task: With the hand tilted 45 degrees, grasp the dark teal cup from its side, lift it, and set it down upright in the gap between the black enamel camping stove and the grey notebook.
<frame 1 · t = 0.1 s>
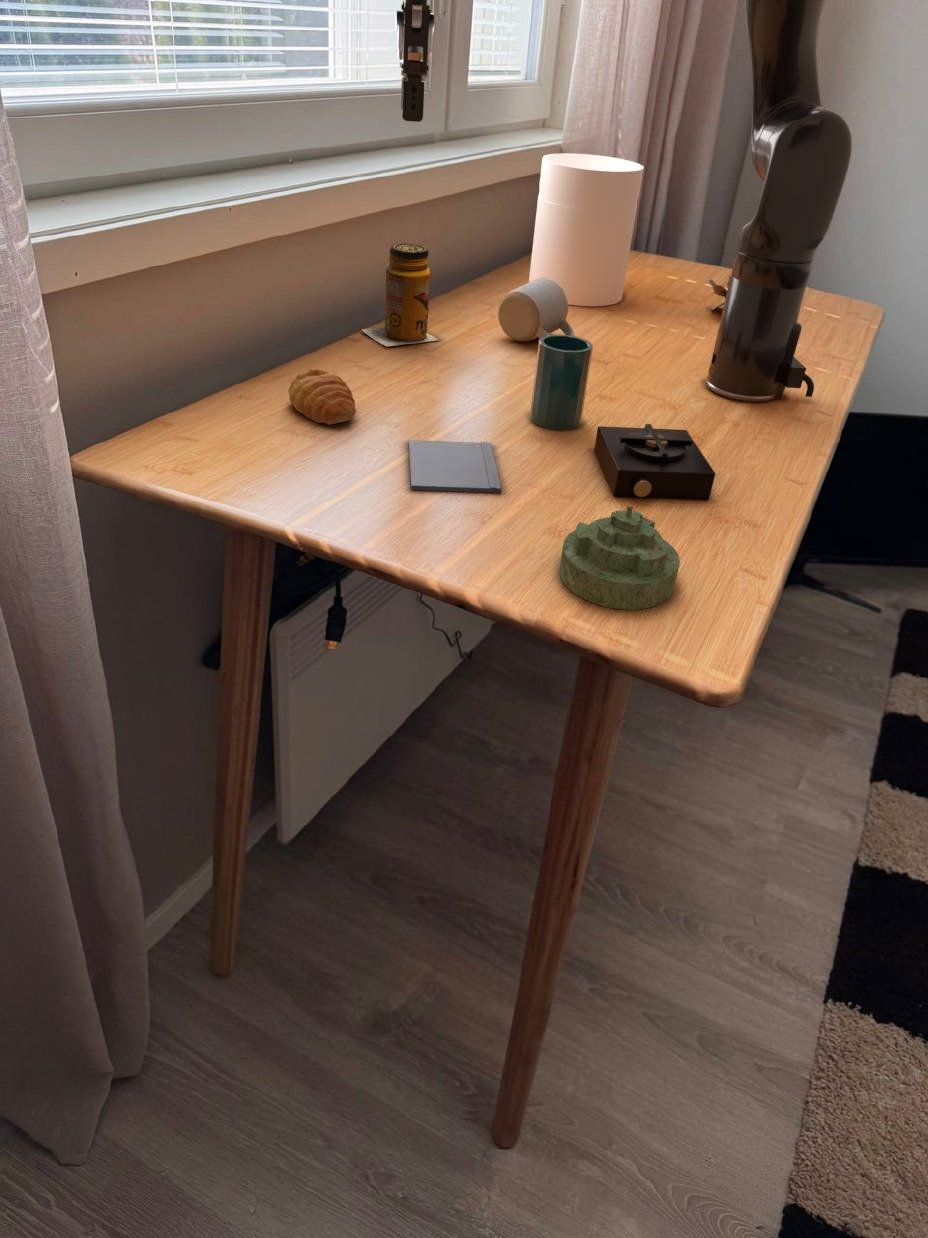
hand: (411, 115, 102), 29 cm above the table, tool pointing down, fingers open, 8 cm apart
artificial flower: (733, 328, 147), on the table
ceramic mug: (537, 340, 134), on the table
canister: (574, 293, 157), on the table
condiment: (399, 337, 131), on the table
stove: (649, 474, 99), on the table
grey notebook: (452, 467, 97), on the table
decorative artifact: (615, 579, 81), on the table
dark teal cup: (555, 419, 109), on the table
pastry: (325, 411, 107), on the table
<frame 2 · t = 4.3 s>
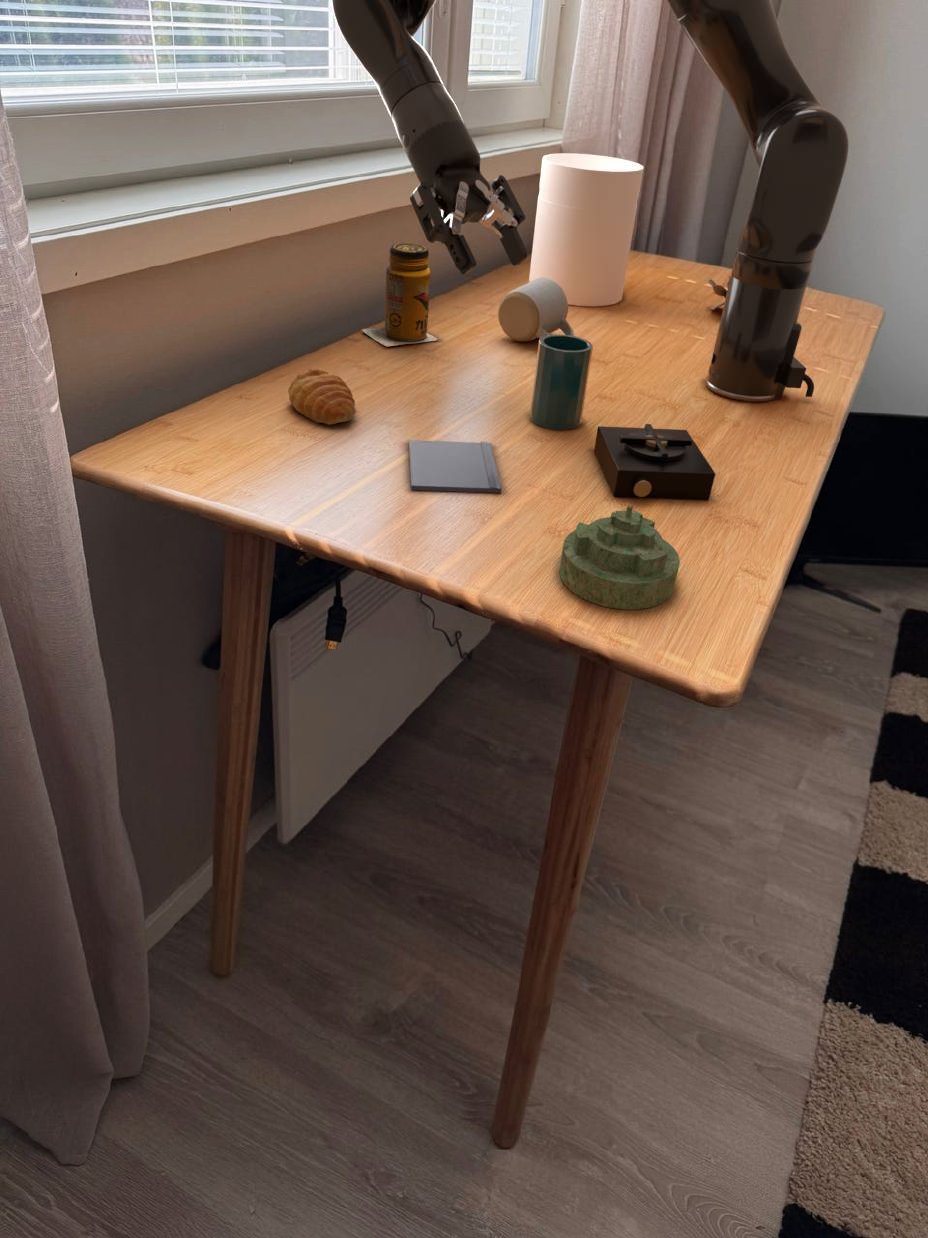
hand: (496, 265, 107), 15 cm above the table, tool tilted 45°, fingers open, 8 cm apart
nothing on the table moved.
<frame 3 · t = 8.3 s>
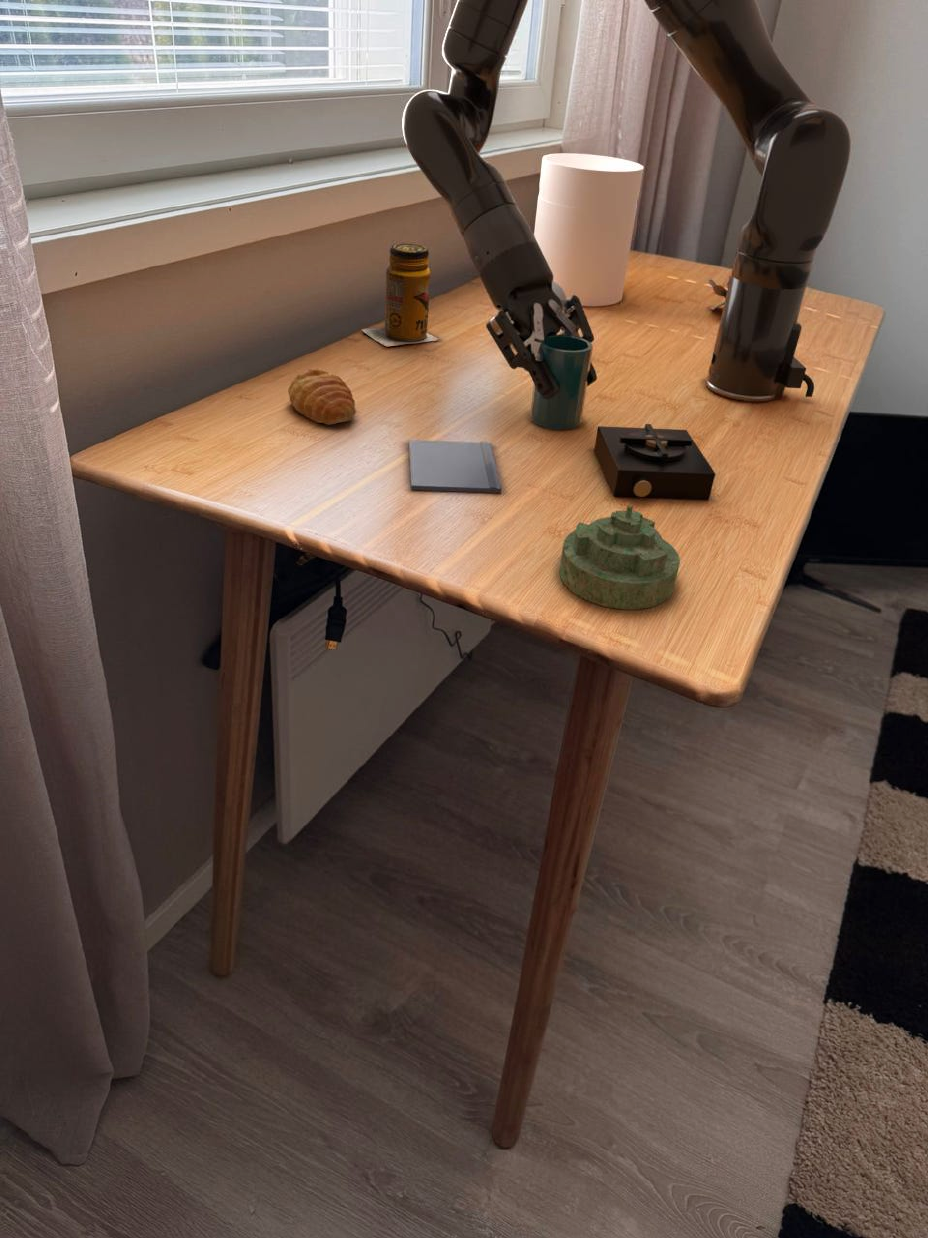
hand: (571, 389, 106), 4 cm above the table, tool tilted 45°, fingers closed on dark teal cup, 6 cm apart
dark teal cup: (555, 419, 109), on the table, touching gripper
everything else where it was.
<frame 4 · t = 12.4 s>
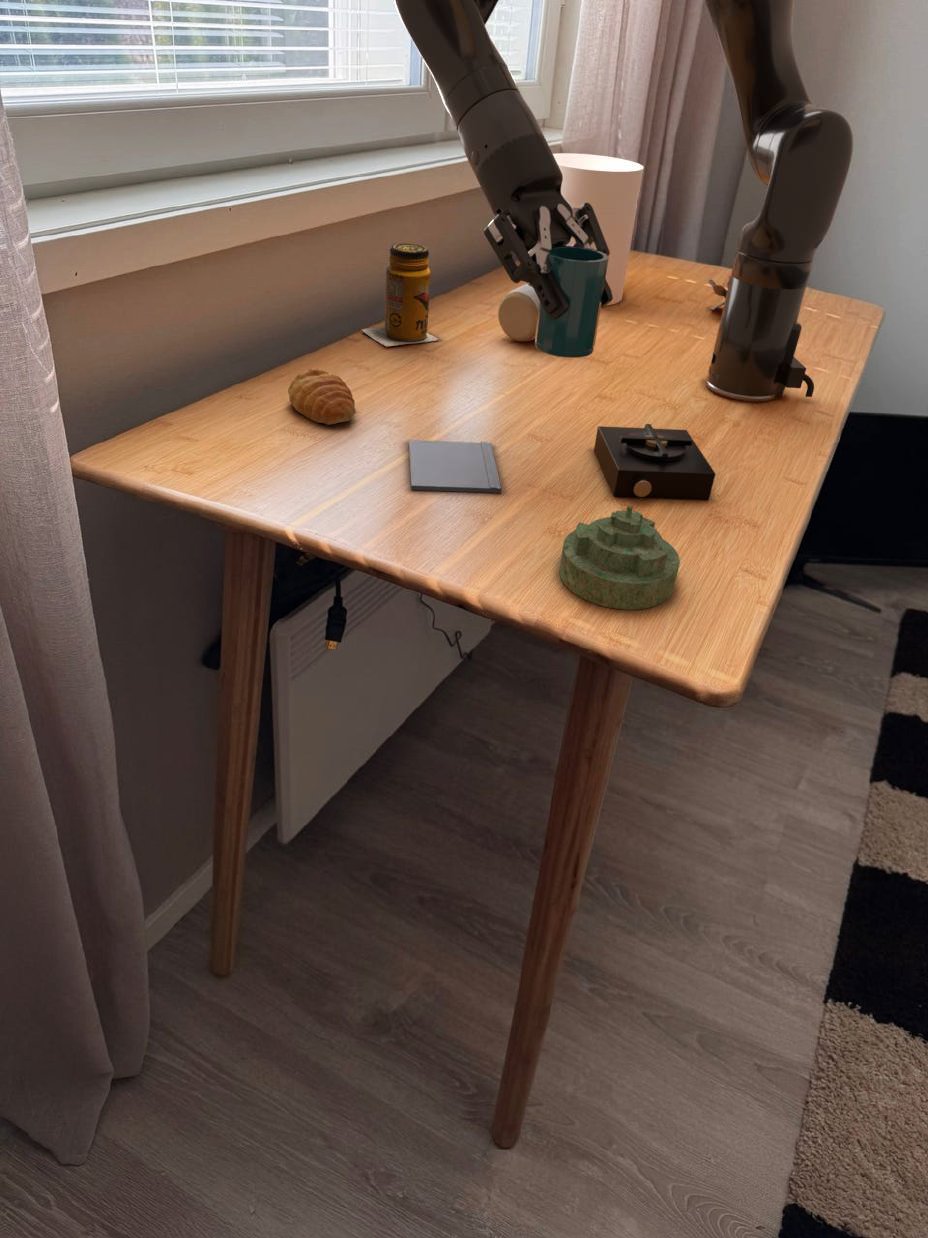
hand: (583, 309, 91), 16 cm above the table, tool tilted 45°, fingers closed on dark teal cup, 6 cm apart
dark teal cup: (564, 347, 94), point 12 cm above the table, touching gripper
everything else where it was.
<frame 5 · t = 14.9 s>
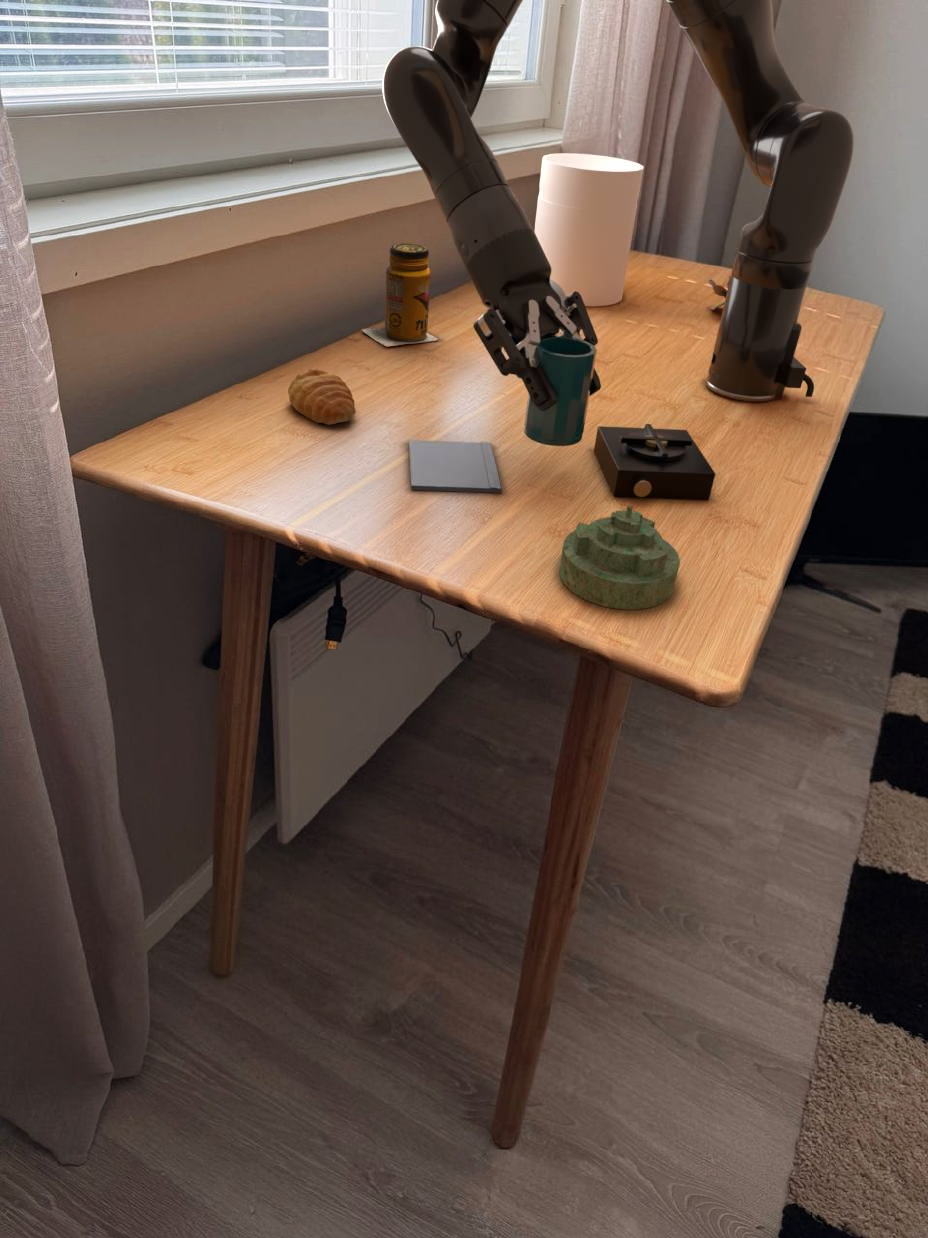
hand: (571, 399, 92), 8 cm above the table, tool tilted 45°, fingers closed on dark teal cup, 6 cm apart
dark teal cup: (553, 434, 95), point 4 cm above the table, touching gripper
everything else where it was.
when the fingers open (4 cm above the table, at t = 16.6 s): dark teal cup stays where it is, on the table.
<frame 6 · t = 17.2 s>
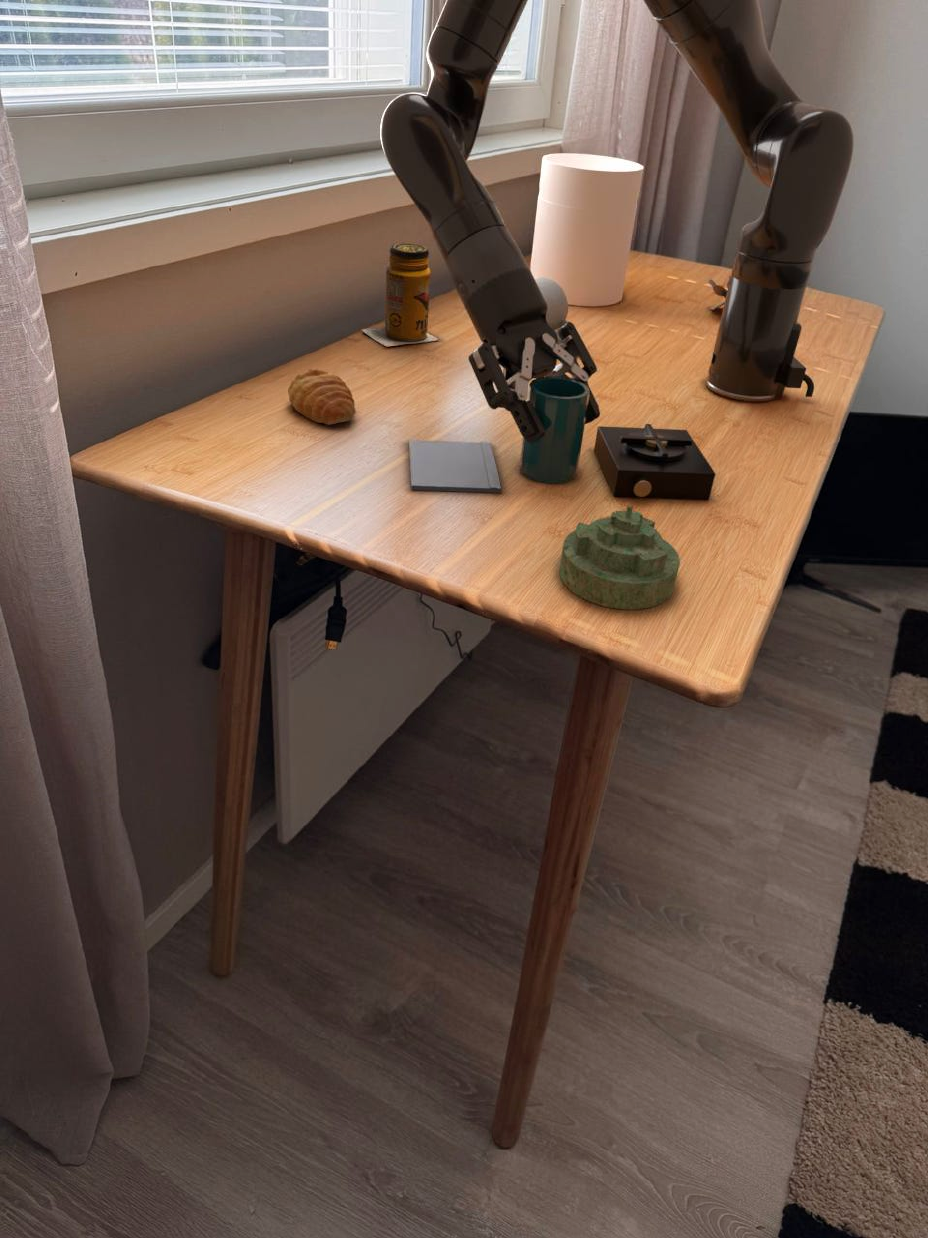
hand: (566, 429, 94), 5 cm above the table, tool tilted 45°, fingers open, 8 cm apart
dark teal cup: (548, 470, 98), on the table
everything else where it was.
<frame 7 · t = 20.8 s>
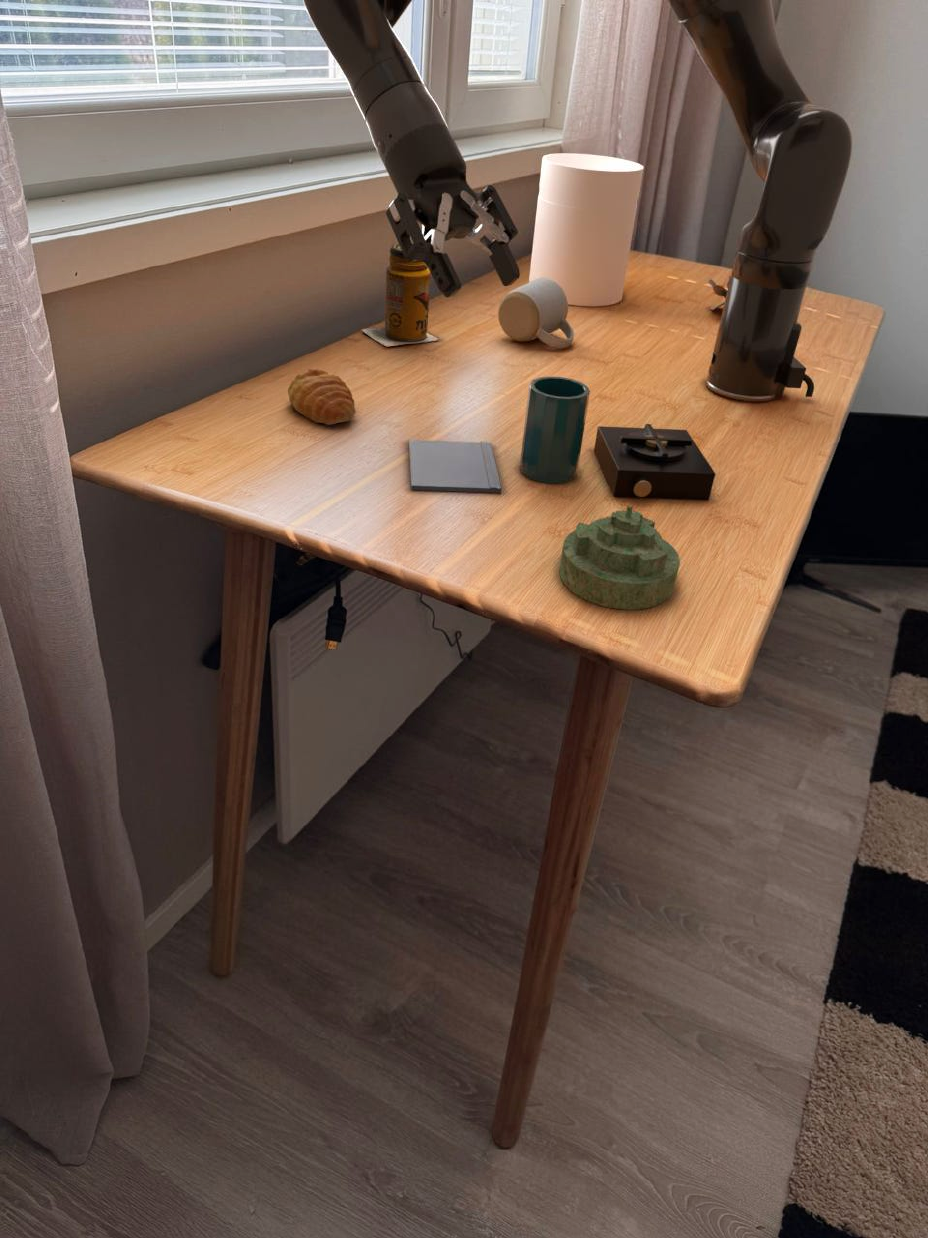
hand: (484, 287, 95), 16 cm above the table, tool tilted 45°, fingers open, 8 cm apart
nothing on the table moved.
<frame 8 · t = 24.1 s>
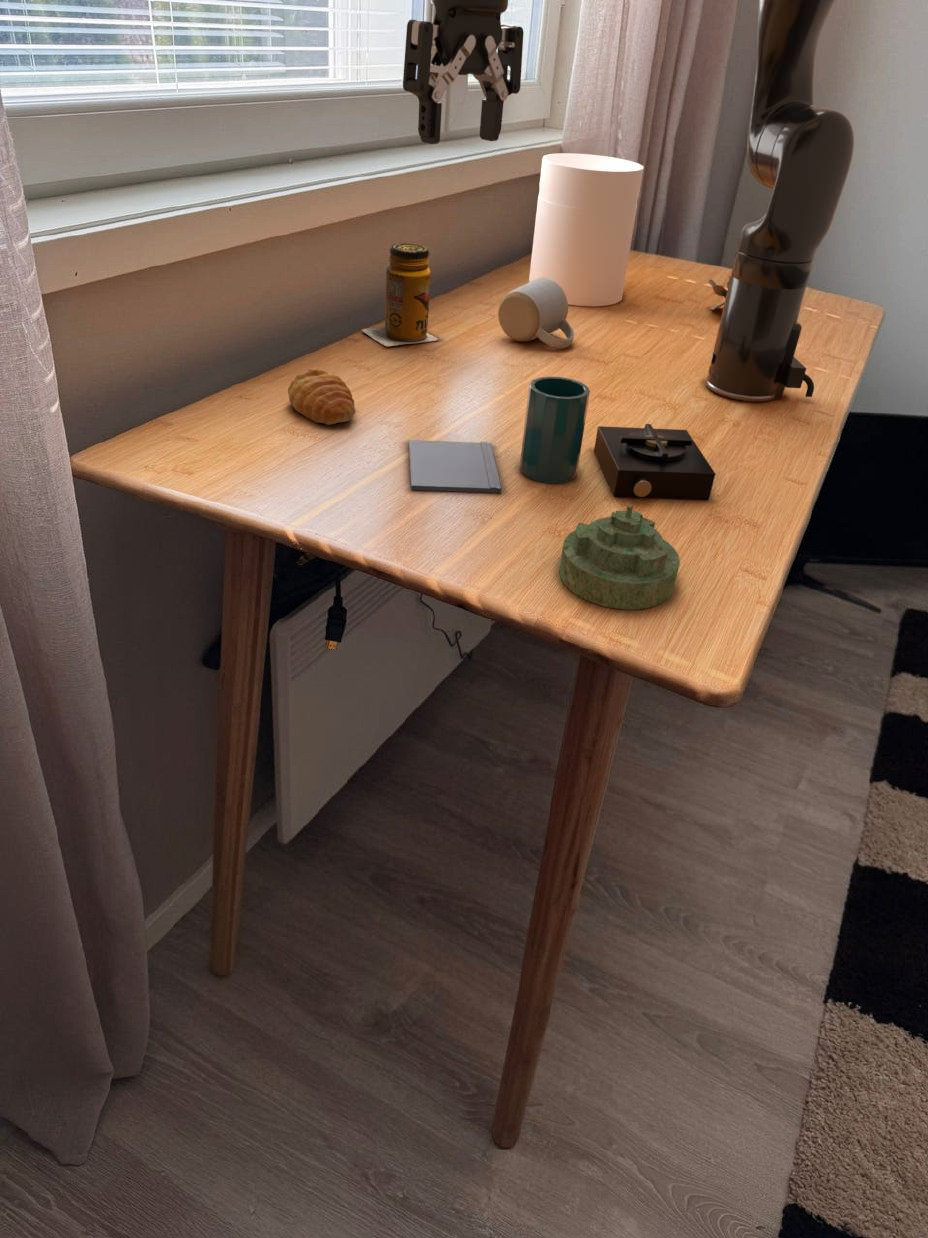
hand: (460, 141, 96), 28 cm above the table, tool pointing down, fingers open, 8 cm apart
nothing on the table moved.
at the end: dark teal cup 0.1 cm from the target spot, on the table; dark teal cup tilted 0°; dark teal cup touching table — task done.
